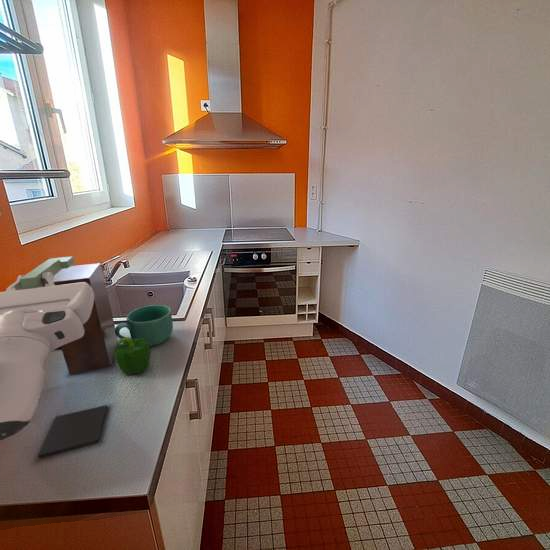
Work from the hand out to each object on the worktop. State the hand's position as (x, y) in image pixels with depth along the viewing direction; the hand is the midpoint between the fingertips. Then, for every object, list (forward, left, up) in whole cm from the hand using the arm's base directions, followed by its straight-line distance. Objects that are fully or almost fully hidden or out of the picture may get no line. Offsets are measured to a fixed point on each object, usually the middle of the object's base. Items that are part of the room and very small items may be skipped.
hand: (37, 275), depth 59 cm
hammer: (0, +6, -2) cm, 6 cm away
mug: (+14, +24, -32) cm, 42 cm away
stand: (0, +21, -32) cm, 38 cm away
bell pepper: (+12, +10, -32) cm, 35 cm away
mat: (+2, -8, -32) cm, 33 cm away
